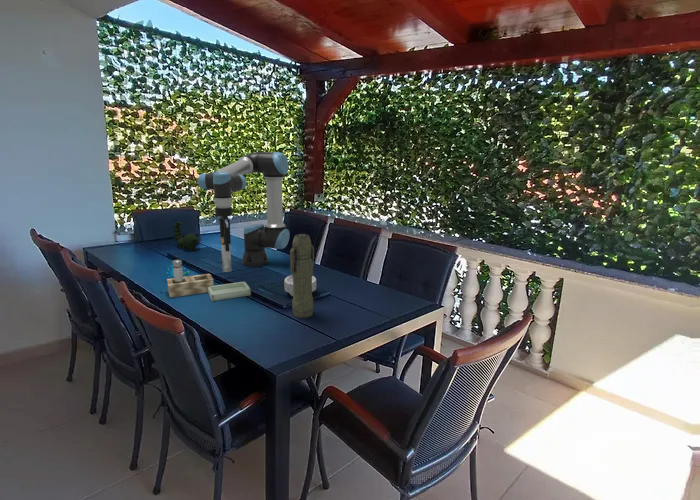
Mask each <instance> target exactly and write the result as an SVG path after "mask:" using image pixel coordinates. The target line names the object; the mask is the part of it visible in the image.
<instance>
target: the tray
mask: <svg viewBox="0 0 700 500" xmlns="http://www.w3.org/2000/svg"><path fill="white" fill-rule="evenodd" d="M207 288H208V292H207V294H208V295H209V298H210V300H211V302H216V301H221V300H222V301H223V300H228V299H229V300H230V299H234V298H242V297H247V296H248V297H249V296H252V289H251V288H250V286H249V284H247V282H246V281H239V282H238V281H237V282H233V283H232V282H231V283H225V284H218V285H217V284H216V285H214V286H209V287H207Z"/></svg>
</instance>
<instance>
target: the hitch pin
mask: <svg viewBox="0 0 700 500" xmlns="http://www.w3.org/2000/svg"><path fill="white" fill-rule="evenodd" d="M222 243H224V237H221V239H220V245H221V246H220V247H221V248H220V249H221V250H220V251H221V264H222V272H223V273H231V272H232V269H233V268H232V257H231V258H224V245H223V244H222ZM230 255H231V256H232V254H231V250H230Z"/></svg>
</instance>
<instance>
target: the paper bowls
mask: <svg viewBox="0 0 700 500" xmlns="http://www.w3.org/2000/svg"><path fill="white" fill-rule="evenodd" d="M283 283H284V291H285V292H286V293H289V295H290V296H291V297H293V277H292V274H291V275H288V276H286V277H285V278H284V282H283ZM316 290H317V278H316V277H315V276H314V275H313V276H312V293H313V292H315V291H316Z"/></svg>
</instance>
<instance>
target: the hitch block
mask: <svg viewBox="0 0 700 500" xmlns="http://www.w3.org/2000/svg"><path fill="white" fill-rule="evenodd" d="M183 281H184V282H182V283H175V281H174V277H171V278H166V282H167V291H168V295H169V298H170V297H171V298H178V297H183V296H185V297H186V296H190V295H196V294H197V295H198V294H204V293H206V294H207V293H208V288H207V287H209V286H215V285H214V278H213V277H212V274H210V273H203V274H196V275H189V276H188V275H187V276H186V277H183Z"/></svg>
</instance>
